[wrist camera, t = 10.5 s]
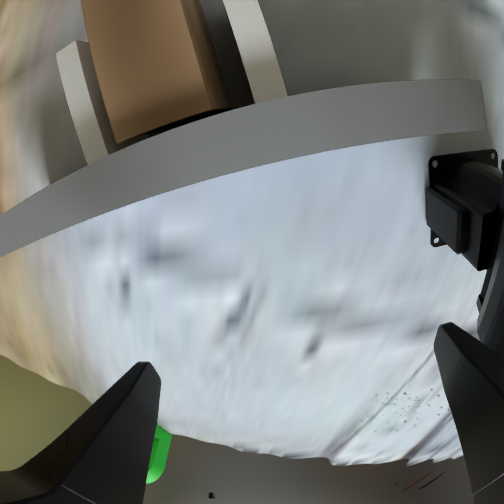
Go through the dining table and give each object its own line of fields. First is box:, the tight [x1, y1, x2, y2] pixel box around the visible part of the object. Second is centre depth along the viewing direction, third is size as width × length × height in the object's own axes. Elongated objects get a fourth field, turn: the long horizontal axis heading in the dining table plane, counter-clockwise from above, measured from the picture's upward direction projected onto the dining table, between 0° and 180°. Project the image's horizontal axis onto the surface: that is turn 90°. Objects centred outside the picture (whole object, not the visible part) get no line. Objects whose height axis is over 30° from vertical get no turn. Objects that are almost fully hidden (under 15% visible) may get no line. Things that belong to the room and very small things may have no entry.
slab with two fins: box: [0, 0, 487, 257], centre depth 11 cm, size 24×8×7 cm, turn 105°
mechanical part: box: [146, 425, 172, 483], centre depth 30 cm, size 12×6×8 cm, turn 118°
